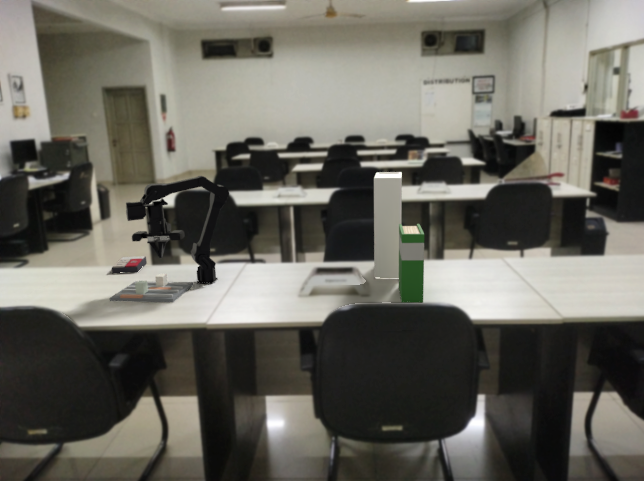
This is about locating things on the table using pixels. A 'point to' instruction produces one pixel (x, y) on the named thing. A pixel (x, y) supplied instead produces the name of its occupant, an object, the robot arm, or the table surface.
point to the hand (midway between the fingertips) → (161, 257)
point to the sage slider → (141, 287)
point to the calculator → (129, 264)
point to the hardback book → (411, 263)
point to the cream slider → (161, 280)
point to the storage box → (387, 223)
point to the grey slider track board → (153, 292)
